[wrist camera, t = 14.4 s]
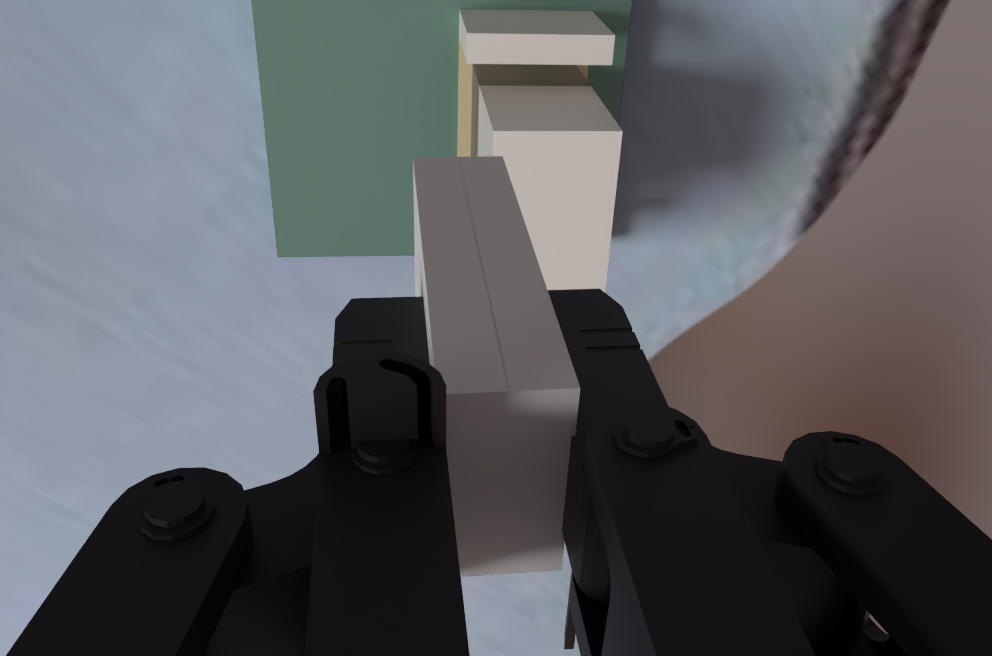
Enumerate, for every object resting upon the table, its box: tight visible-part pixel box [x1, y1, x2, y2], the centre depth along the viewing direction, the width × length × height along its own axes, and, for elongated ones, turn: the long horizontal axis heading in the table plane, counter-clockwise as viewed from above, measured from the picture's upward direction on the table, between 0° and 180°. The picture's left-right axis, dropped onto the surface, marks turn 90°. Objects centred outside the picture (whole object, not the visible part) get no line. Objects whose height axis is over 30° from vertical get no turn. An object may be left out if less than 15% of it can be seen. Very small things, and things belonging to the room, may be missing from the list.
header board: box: [252, 0, 632, 257], centre depth 32 cm, size 17×14×6 cm
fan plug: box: [471, 64, 623, 292], centre depth 32 cm, size 6×4×8 cm, turn 178°
